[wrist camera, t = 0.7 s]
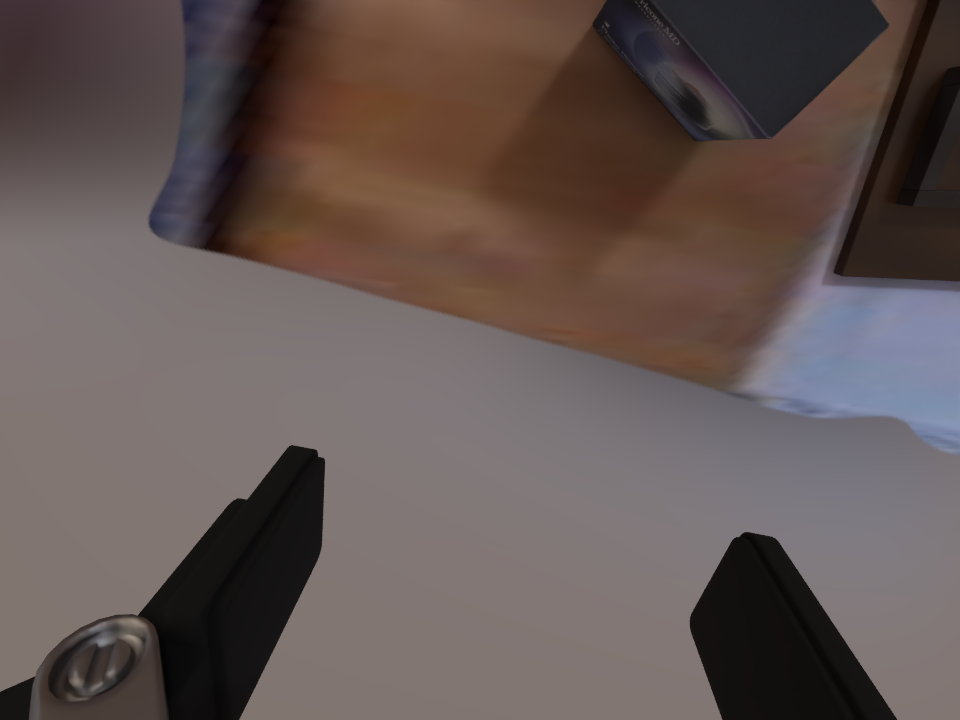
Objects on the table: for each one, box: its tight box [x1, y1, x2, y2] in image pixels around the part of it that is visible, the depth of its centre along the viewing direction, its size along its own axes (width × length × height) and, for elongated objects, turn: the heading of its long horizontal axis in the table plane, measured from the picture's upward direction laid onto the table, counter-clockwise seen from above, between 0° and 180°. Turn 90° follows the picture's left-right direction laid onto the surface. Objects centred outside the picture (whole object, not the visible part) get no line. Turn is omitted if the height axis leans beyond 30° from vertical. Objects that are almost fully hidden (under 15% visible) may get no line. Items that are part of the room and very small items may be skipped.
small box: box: [593, 0, 889, 141], centre depth 24 cm, size 11×6×10 cm, turn 49°
